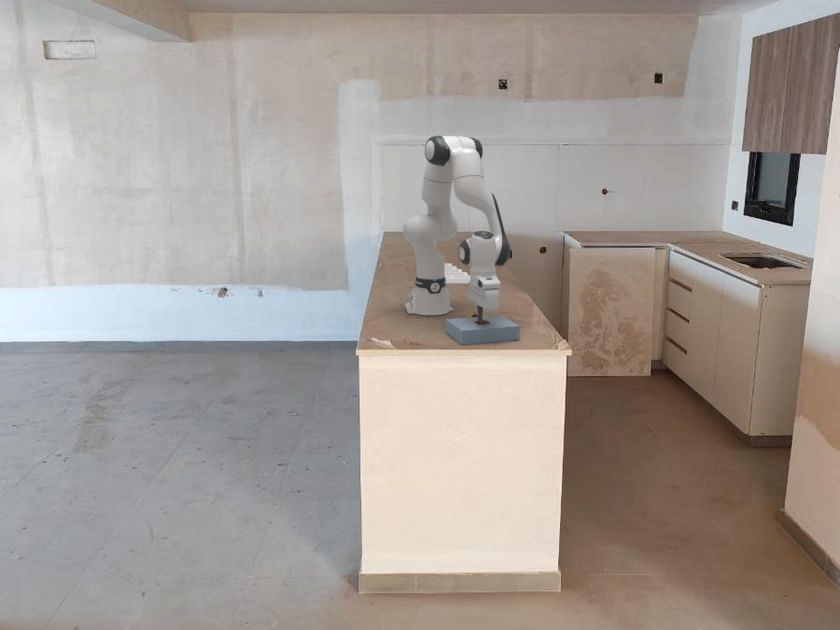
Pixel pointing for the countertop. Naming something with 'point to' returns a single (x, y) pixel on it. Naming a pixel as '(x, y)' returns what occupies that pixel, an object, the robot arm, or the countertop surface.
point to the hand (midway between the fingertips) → (482, 318)
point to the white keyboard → (455, 274)
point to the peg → (480, 312)
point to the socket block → (482, 330)
